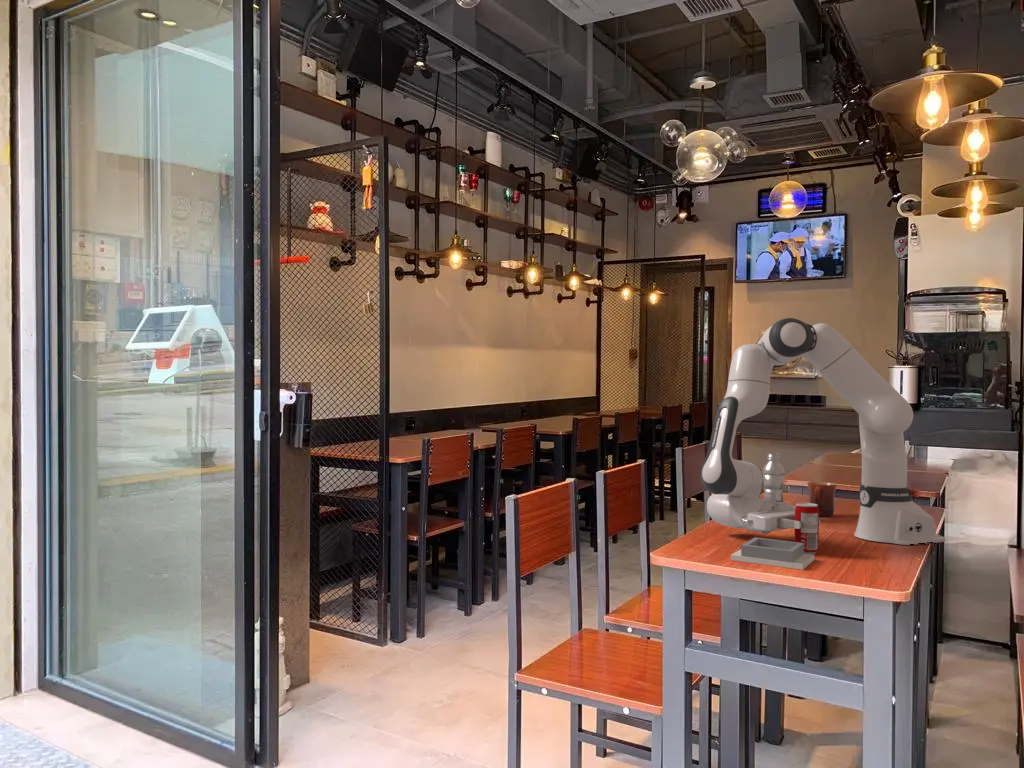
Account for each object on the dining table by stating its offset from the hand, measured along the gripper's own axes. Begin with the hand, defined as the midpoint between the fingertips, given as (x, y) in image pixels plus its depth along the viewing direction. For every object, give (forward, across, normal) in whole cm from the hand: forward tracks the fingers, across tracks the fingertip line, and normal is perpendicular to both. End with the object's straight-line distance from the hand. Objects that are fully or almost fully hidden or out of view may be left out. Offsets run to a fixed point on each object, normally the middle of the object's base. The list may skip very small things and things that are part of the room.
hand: (810, 523), depth 187 cm
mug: (-30, +52, +7) cm, 60 cm away
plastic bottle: (-35, +34, +7) cm, 49 cm away
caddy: (0, -15, +7) cm, 16 cm away
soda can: (-1, 0, +7) cm, 7 cm away
